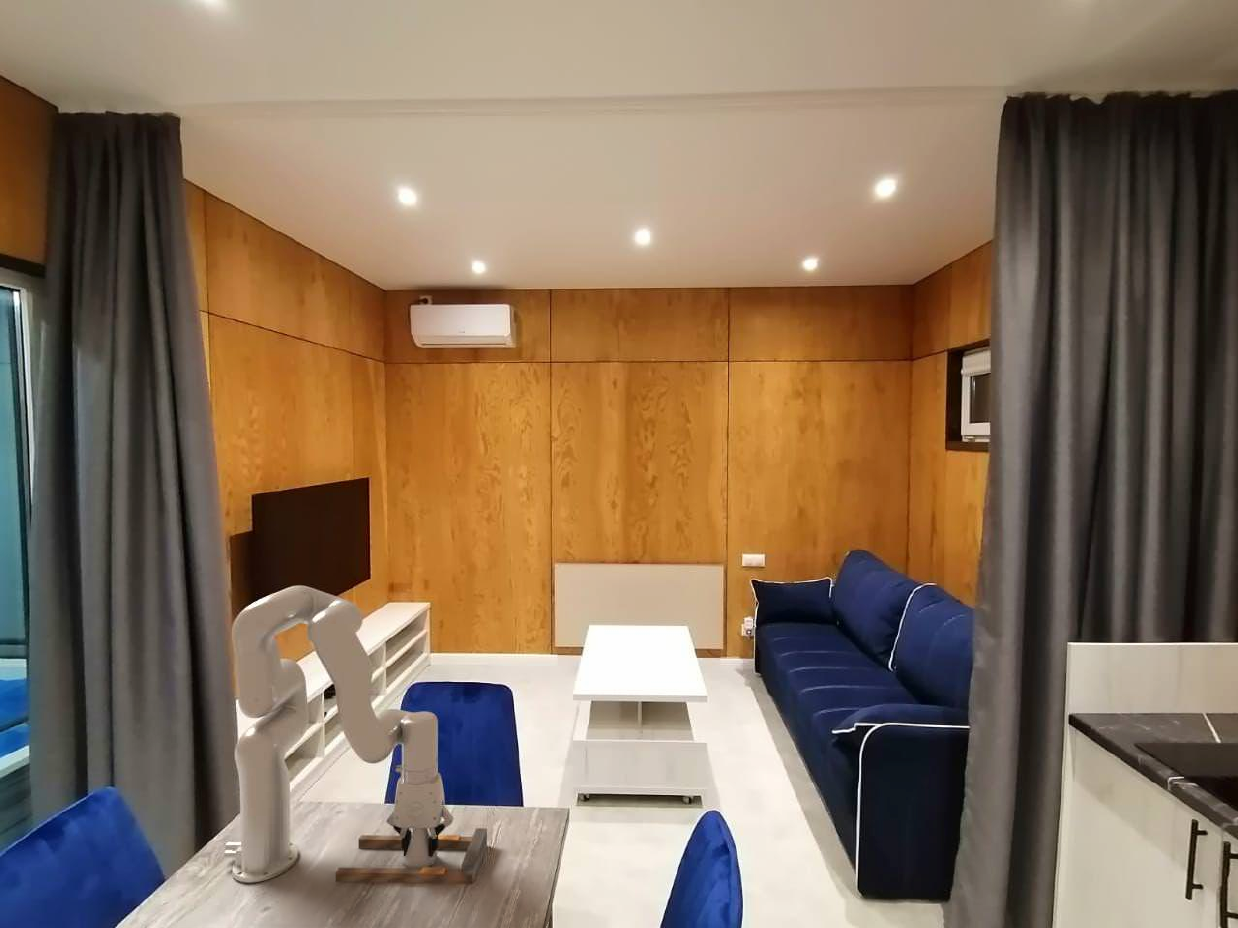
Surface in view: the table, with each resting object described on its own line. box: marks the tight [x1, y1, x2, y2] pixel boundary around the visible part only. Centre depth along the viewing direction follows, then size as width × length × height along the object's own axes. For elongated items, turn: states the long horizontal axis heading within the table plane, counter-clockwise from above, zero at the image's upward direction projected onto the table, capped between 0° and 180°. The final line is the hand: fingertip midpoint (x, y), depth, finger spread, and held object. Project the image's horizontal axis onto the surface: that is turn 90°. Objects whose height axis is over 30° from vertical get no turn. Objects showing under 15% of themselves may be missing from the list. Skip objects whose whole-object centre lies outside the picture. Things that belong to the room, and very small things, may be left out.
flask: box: [402, 828, 438, 869], centre depth 135 cm, size 7×7×10 cm
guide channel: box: [335, 827, 488, 885], centre depth 135 cm, size 29×13×4 cm, turn 89°
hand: (420, 851), depth 135 cm, fingers closed on flask, 4 cm apart
